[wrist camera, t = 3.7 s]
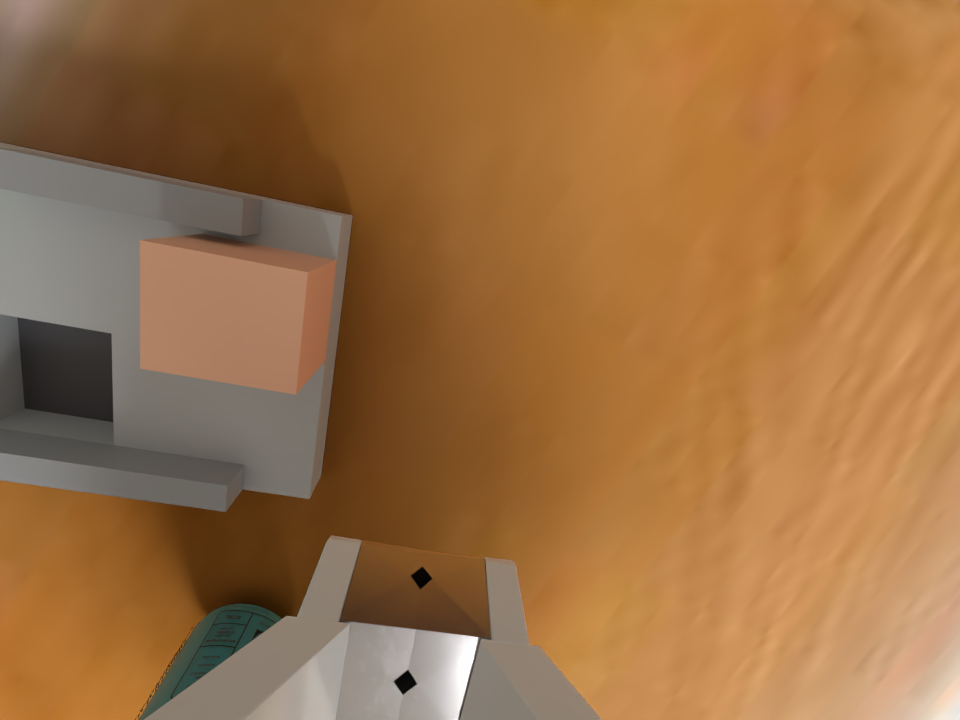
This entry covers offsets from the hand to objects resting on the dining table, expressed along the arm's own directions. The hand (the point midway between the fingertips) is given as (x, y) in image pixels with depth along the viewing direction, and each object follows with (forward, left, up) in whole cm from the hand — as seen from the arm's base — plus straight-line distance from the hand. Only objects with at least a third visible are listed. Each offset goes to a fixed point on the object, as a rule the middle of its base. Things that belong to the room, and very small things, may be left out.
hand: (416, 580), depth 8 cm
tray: (+15, +3, -19) cm, 24 cm away
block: (+8, 0, -16) cm, 19 cm away
